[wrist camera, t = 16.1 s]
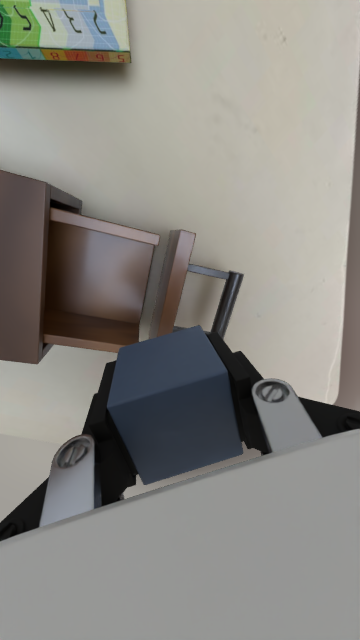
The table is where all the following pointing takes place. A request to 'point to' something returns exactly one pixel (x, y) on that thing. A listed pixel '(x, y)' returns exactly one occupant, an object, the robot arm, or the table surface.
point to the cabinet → (25, 263)
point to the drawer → (116, 283)
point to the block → (173, 405)
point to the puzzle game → (65, 30)
